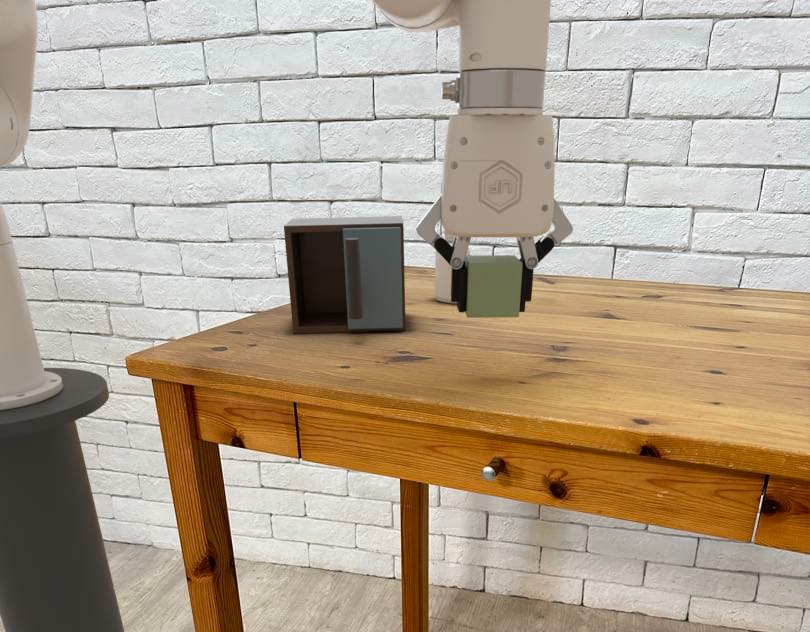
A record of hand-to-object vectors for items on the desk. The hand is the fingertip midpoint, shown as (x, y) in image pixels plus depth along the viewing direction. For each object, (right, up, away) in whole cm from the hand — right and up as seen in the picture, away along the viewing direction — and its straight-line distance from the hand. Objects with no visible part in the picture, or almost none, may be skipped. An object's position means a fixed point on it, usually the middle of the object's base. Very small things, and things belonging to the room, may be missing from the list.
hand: (490, 307), depth 76 cm
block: (0, 0, 0) cm, 0 cm away
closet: (-16, +6, +28) cm, 33 cm away
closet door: (-12, +3, +21) cm, 24 cm away
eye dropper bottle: (-1, +13, +41) cm, 43 cm away
